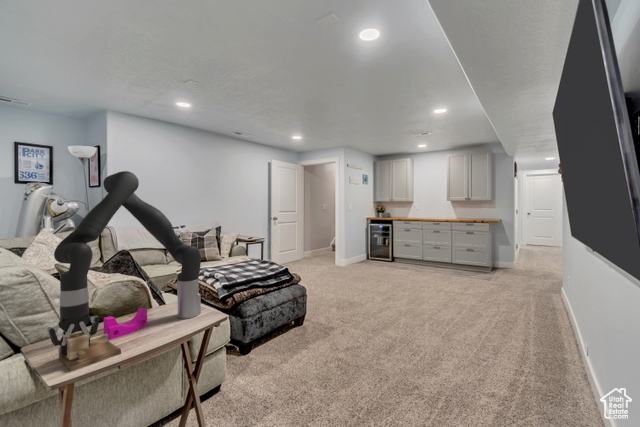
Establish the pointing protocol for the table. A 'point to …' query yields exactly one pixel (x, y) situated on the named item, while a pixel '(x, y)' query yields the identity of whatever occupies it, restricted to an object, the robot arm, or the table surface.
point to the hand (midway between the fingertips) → (75, 351)
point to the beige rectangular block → (77, 345)
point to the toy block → (125, 324)
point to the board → (92, 353)
